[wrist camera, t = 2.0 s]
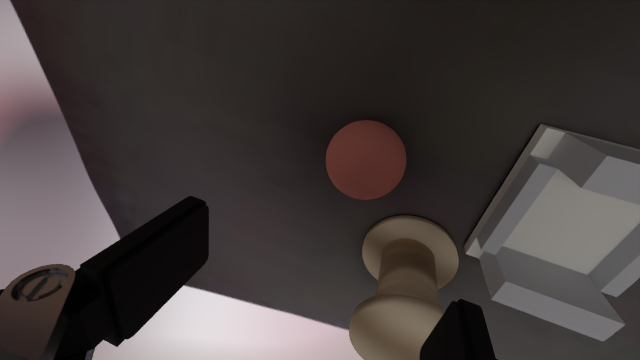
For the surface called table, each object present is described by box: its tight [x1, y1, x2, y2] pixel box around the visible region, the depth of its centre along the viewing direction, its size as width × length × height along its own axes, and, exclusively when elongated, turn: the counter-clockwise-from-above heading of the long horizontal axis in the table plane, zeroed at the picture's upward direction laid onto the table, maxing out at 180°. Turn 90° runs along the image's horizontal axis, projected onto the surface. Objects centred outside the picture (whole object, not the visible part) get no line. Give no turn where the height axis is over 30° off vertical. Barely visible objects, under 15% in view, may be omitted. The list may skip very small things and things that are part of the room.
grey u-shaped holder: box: [464, 124, 640, 342], centre depth 16 cm, size 11×9×5 cm
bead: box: [326, 120, 406, 200], centre depth 19 cm, size 6×6×6 cm
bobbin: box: [349, 215, 459, 360], centre depth 20 cm, size 8×8×9 cm
